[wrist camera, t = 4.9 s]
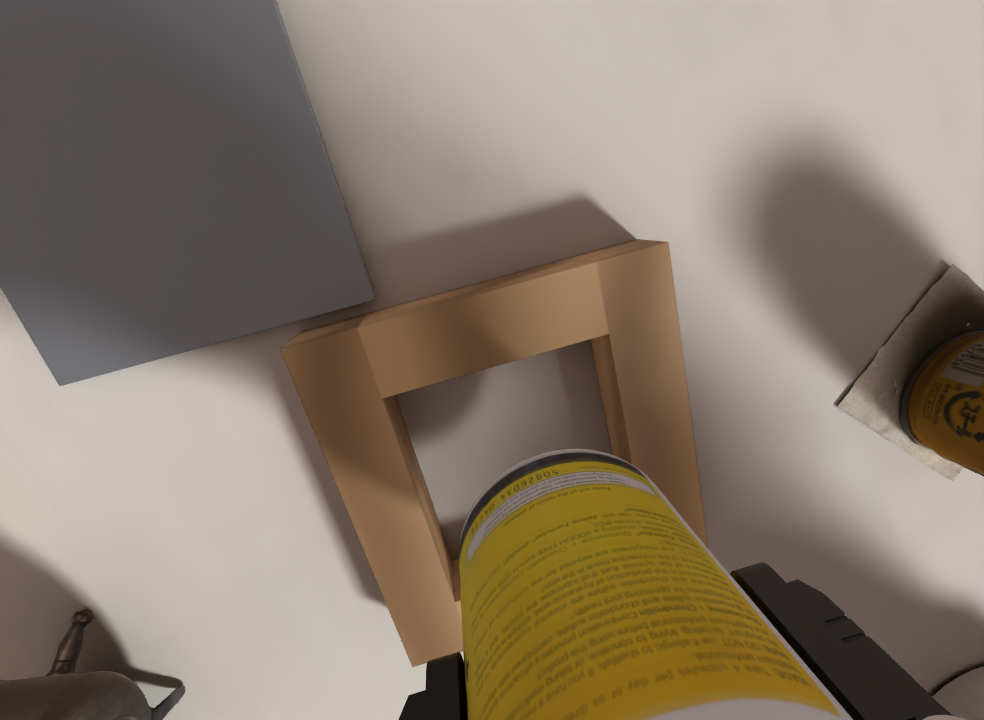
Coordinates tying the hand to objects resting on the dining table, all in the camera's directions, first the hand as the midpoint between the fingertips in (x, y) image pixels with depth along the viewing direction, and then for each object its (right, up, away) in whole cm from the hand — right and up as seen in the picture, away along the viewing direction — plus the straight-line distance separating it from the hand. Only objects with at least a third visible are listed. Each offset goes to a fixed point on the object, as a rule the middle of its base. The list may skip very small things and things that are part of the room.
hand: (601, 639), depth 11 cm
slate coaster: (-13, +12, +4) cm, 19 cm away
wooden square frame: (-2, +3, +9) cm, 9 cm away
